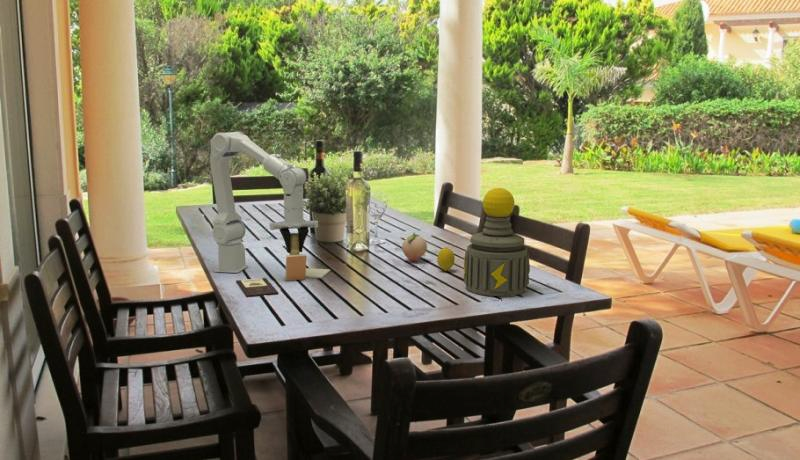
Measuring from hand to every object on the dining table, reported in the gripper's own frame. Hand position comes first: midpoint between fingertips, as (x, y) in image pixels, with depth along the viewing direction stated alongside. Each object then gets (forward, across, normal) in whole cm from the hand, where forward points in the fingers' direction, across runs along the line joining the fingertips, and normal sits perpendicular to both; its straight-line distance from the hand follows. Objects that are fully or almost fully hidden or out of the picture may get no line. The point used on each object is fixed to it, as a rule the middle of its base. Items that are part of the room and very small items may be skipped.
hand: (294, 251), depth 225 cm
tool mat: (+8, +7, +5) cm, 12 cm away
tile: (+8, 0, -1) cm, 8 cm away
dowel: (+2, 0, 0) cm, 2 cm away
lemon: (+9, +48, -6) cm, 49 cm away
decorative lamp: (+9, +53, -30) cm, 62 cm away
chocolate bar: (+9, -13, -7) cm, 17 cm away
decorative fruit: (+9, +44, +11) cm, 46 cm away
